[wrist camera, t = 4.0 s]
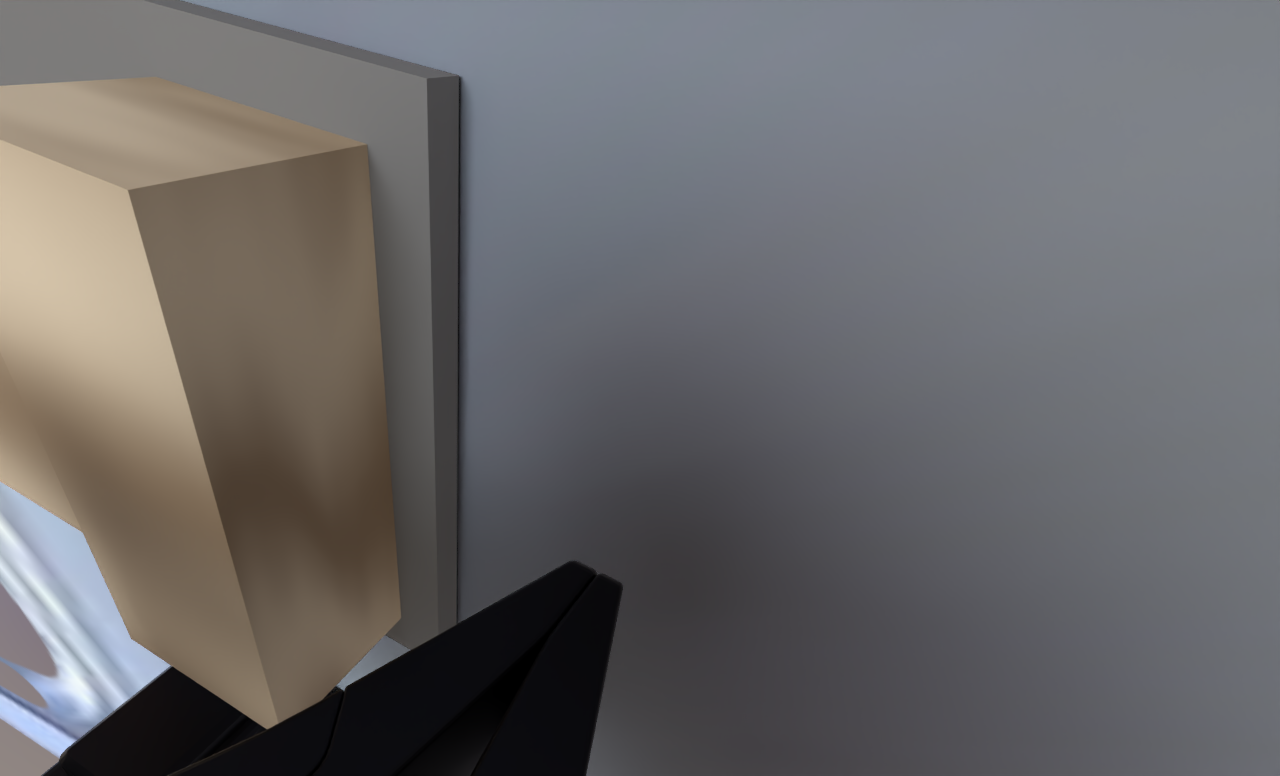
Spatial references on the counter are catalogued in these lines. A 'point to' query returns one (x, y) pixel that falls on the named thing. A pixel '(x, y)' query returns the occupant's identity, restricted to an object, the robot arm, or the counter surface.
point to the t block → (201, 376)
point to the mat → (400, 197)
